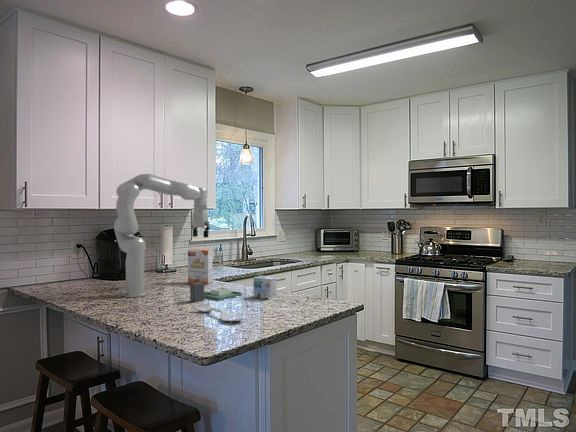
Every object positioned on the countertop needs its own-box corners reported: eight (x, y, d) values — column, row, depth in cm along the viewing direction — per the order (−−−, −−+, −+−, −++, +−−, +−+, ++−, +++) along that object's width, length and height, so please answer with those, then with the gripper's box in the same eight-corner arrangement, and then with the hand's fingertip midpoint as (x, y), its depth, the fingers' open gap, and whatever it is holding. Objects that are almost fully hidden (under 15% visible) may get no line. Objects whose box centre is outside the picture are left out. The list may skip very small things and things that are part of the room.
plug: (195, 302, 217) (195, 284, 216) (190, 301, 219) (190, 283, 219) (205, 300, 222) (205, 282, 221) (200, 299, 224) (200, 281, 224)
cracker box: (187, 283, 267) (187, 249, 267) (192, 281, 273) (192, 248, 273) (208, 284, 263) (207, 250, 263) (212, 283, 269) (212, 249, 268)
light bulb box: (253, 297, 228) (253, 277, 228) (259, 295, 234) (259, 275, 234) (270, 299, 223) (270, 278, 223) (277, 297, 229) (277, 276, 229)
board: (219, 301, 220) (219, 293, 220) (199, 296, 230) (199, 289, 230) (242, 295, 232) (242, 288, 232) (222, 291, 242) (221, 284, 242)
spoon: (208, 308, 205) (208, 301, 205) (248, 322, 181) (248, 314, 181) (191, 311, 199) (191, 304, 199) (230, 326, 175) (230, 318, 175)
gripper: (186, 208, 263) (186, 236, 263) (205, 208, 252) (205, 238, 253) (195, 208, 269) (195, 235, 269) (215, 208, 258) (215, 237, 258)
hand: (200, 236), depth 261 cm, fingers open, 9 cm apart
